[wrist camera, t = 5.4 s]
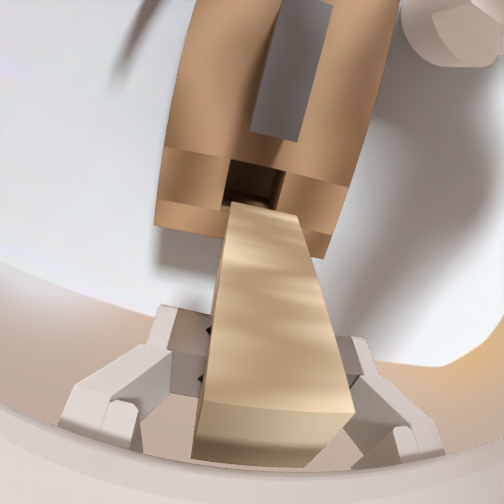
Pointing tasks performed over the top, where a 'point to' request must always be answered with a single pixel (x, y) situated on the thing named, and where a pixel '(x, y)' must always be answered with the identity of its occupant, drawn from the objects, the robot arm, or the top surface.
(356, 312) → the top surface
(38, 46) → the top surface
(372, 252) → the top surface
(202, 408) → the pin
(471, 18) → the base with upright slab
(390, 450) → the robot arm
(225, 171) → the lid
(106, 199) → the top surface
